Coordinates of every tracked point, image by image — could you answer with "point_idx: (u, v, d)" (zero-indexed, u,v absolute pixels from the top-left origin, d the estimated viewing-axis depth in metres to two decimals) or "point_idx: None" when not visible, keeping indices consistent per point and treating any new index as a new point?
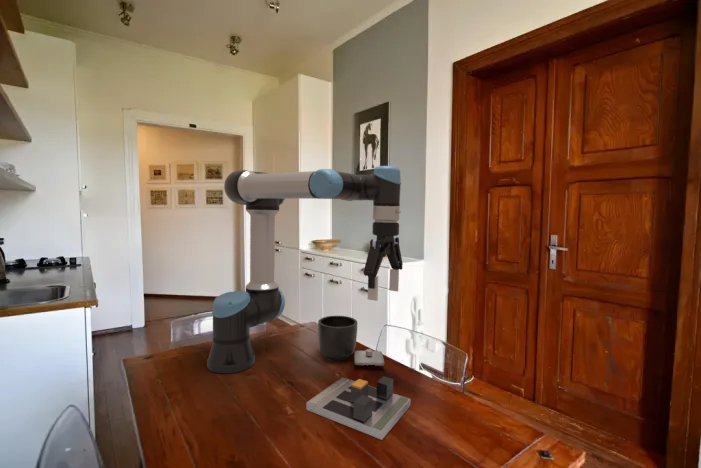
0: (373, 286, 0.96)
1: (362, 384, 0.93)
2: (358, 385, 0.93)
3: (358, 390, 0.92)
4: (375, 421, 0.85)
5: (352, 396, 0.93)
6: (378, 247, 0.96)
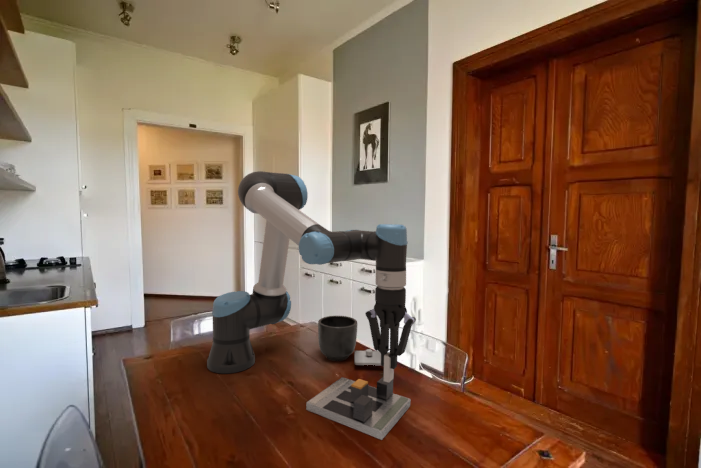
0: (382, 364, 0.89)
1: (362, 384, 0.93)
2: (358, 385, 0.93)
3: (358, 390, 0.92)
4: (375, 421, 0.85)
5: (352, 396, 0.93)
6: (369, 320, 0.90)
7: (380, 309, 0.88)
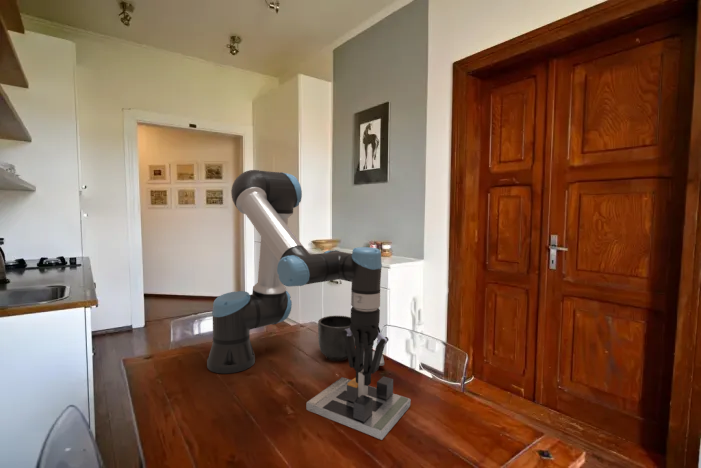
0: (357, 380, 0.94)
1: None
2: (354, 384, 0.93)
3: (354, 388, 0.93)
4: (375, 421, 0.85)
5: (348, 395, 0.94)
6: (344, 338, 0.94)
7: (355, 329, 0.93)
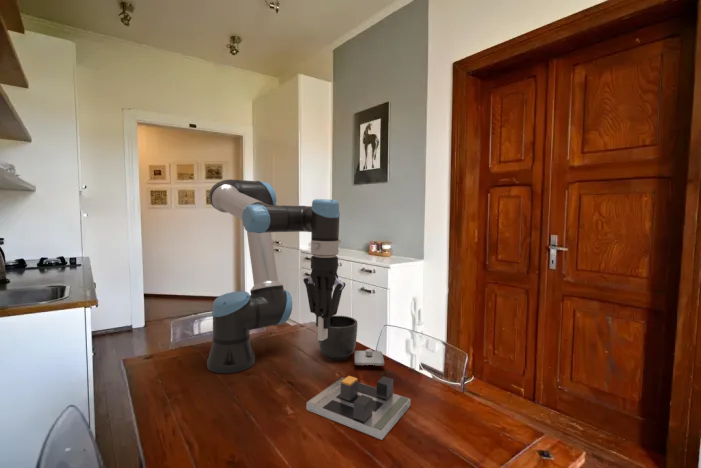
0: (317, 324, 1.00)
1: (352, 381, 0.95)
2: (348, 382, 0.94)
3: (348, 386, 0.94)
4: (375, 421, 0.85)
5: (342, 392, 0.95)
6: (306, 285, 1.01)
7: (315, 275, 0.99)
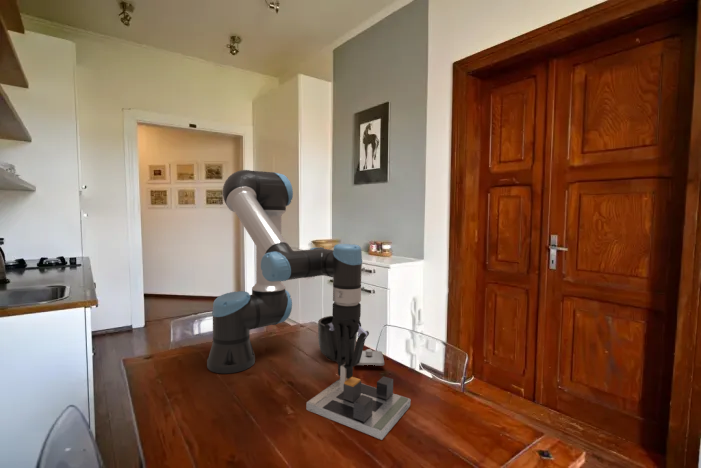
0: (339, 373, 0.96)
1: (355, 382, 0.94)
2: (351, 383, 0.94)
3: (351, 387, 0.93)
4: (375, 421, 0.85)
5: (345, 393, 0.94)
6: (327, 332, 0.97)
7: (337, 323, 0.95)
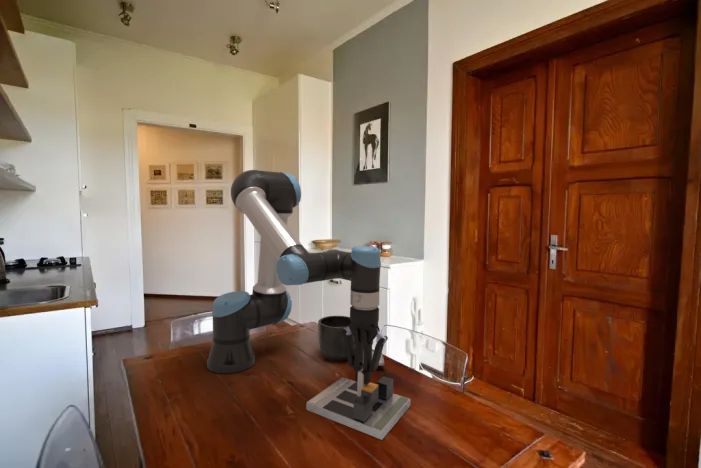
0: (356, 379, 0.94)
1: (372, 387, 0.92)
2: (368, 388, 0.91)
3: (369, 393, 0.90)
4: (375, 421, 0.85)
5: None
6: (344, 337, 0.94)
7: (354, 327, 0.93)
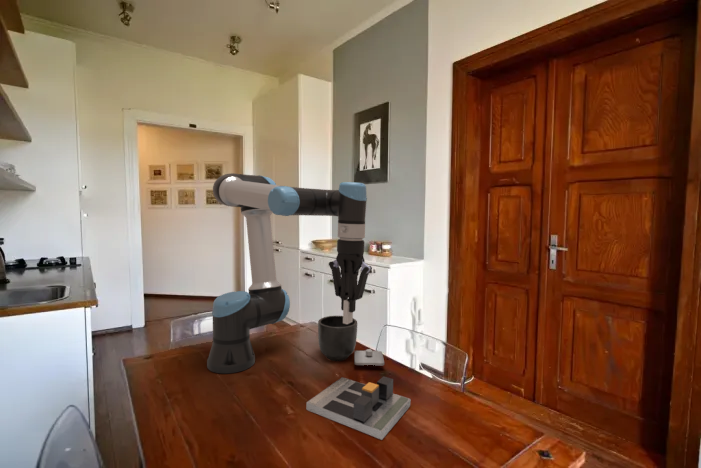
0: (342, 308, 1.00)
1: (373, 387, 0.92)
2: (369, 389, 0.91)
3: (369, 393, 0.90)
4: (375, 421, 0.85)
5: None
6: (331, 269, 1.01)
7: (341, 259, 0.99)
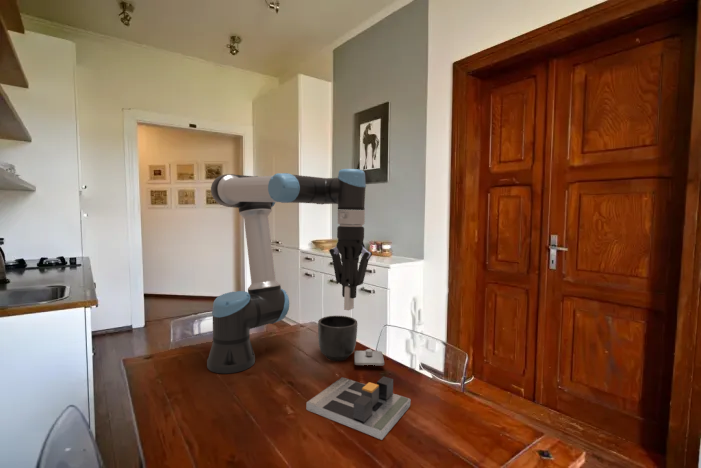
0: (343, 295, 1.01)
1: (373, 387, 0.92)
2: (369, 389, 0.91)
3: (369, 393, 0.90)
4: (375, 421, 0.85)
5: None
6: (332, 256, 1.01)
7: (341, 246, 1.00)
